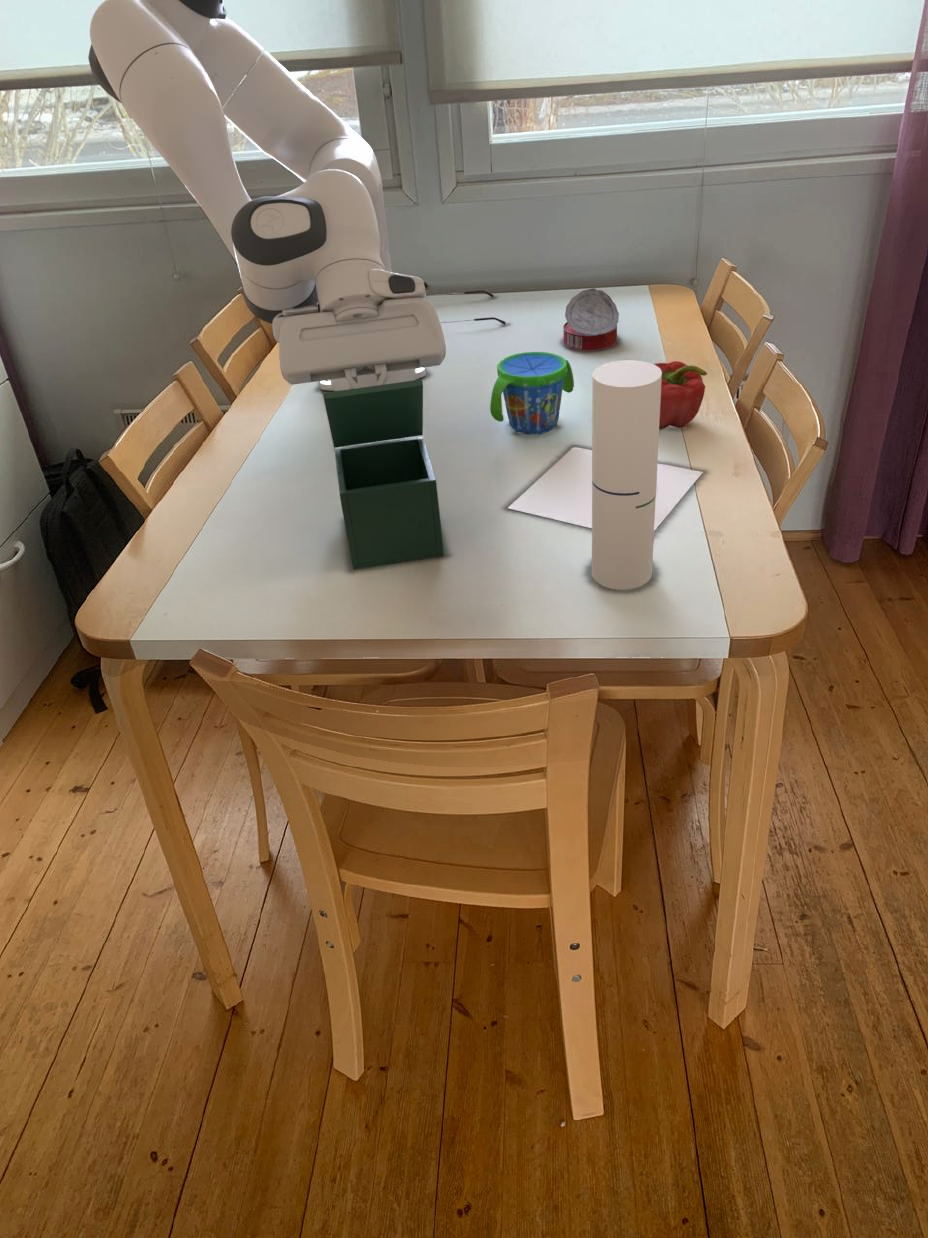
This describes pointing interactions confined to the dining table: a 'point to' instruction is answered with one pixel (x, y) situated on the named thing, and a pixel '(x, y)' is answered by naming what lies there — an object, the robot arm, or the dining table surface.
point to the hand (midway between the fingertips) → (371, 406)
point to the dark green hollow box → (389, 502)
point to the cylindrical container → (624, 471)
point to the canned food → (590, 321)
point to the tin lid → (375, 413)
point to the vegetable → (680, 393)
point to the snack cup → (531, 390)
